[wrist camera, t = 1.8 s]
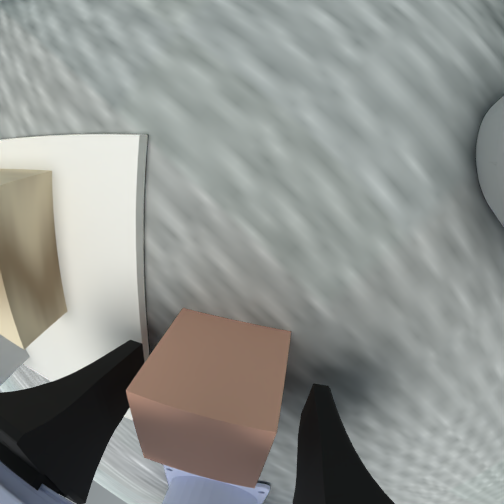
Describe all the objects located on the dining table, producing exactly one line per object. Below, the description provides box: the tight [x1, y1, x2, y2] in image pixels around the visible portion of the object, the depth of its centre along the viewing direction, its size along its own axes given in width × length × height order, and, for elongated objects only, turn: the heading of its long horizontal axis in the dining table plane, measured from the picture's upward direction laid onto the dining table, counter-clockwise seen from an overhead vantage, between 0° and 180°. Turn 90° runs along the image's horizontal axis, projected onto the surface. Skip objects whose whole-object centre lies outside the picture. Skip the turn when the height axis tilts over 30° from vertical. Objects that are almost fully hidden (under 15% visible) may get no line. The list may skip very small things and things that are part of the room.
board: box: [0, 134, 150, 420], centre depth 13 cm, size 16×16×1 cm
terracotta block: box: [126, 308, 291, 489], centre depth 11 cm, size 4×4×5 cm
